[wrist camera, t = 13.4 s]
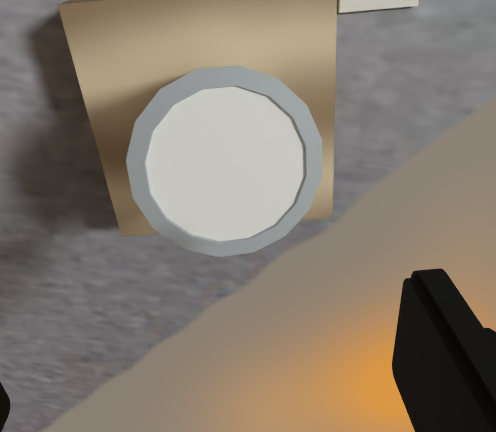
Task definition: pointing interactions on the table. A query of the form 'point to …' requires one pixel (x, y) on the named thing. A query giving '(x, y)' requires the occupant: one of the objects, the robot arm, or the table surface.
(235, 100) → the light grey cup
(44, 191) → the table surface
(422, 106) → the table surface
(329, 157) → the maple block
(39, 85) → the table surface
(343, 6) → the push button plate
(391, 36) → the table surface
